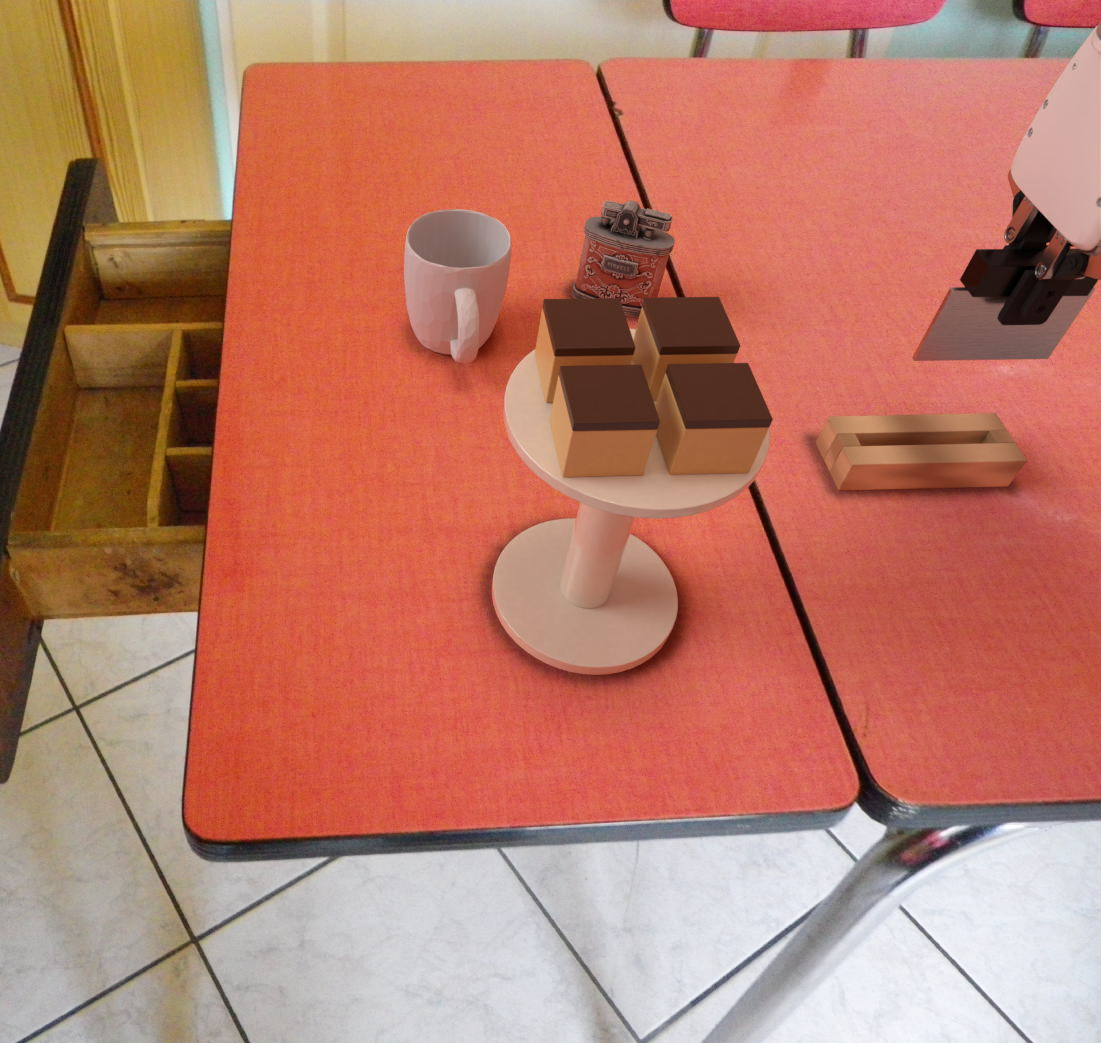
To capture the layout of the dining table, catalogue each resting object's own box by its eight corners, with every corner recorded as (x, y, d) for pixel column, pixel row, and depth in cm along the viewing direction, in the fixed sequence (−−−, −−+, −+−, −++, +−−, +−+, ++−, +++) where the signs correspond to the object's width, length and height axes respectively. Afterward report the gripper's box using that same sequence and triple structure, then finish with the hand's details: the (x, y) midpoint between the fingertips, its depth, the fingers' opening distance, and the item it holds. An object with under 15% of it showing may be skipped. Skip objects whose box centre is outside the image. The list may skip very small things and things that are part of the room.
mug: (397, 305, 89) (399, 209, 82) (491, 301, 90) (502, 205, 82) (412, 397, 81) (417, 300, 73) (516, 391, 82) (531, 295, 74)
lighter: (567, 300, 90) (585, 205, 83) (577, 280, 92) (595, 186, 85) (651, 322, 89) (677, 227, 81) (659, 302, 91) (685, 207, 83)
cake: (700, 350, 58) (719, 296, 55) (749, 473, 51) (773, 419, 48) (534, 353, 57) (543, 298, 54) (562, 477, 51) (574, 423, 48)
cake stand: (724, 581, 69) (811, 395, 55) (626, 729, 61) (699, 555, 47) (547, 487, 75) (586, 297, 61) (436, 611, 67) (452, 425, 53)
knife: (1039, 348, 69) (1106, 247, 63) (1053, 366, 68) (1123, 265, 62) (907, 350, 69) (961, 248, 63) (918, 368, 68) (975, 266, 61)
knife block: (978, 439, 80) (996, 412, 77) (1008, 486, 76) (1027, 460, 74) (815, 442, 79) (828, 415, 77) (837, 490, 75) (852, 464, 73)
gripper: (1351, 95, 46) (1126, 385, 60) (1162, -27, 57) (1007, 244, 71) (1205, 95, 46) (1012, 387, 60) (1041, -28, 57) (909, 245, 70)
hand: (1010, 308), depth 65 cm, fingers closed on knife, 2 cm apart
